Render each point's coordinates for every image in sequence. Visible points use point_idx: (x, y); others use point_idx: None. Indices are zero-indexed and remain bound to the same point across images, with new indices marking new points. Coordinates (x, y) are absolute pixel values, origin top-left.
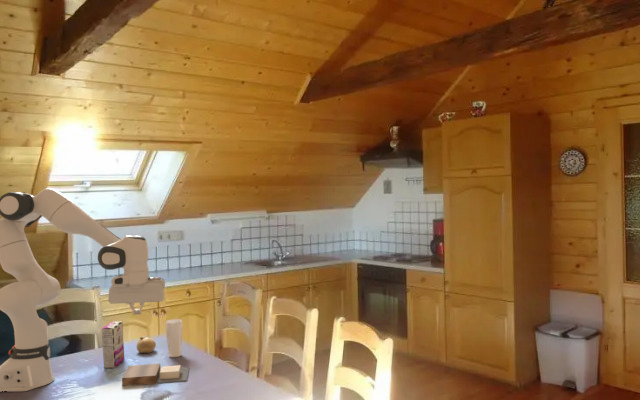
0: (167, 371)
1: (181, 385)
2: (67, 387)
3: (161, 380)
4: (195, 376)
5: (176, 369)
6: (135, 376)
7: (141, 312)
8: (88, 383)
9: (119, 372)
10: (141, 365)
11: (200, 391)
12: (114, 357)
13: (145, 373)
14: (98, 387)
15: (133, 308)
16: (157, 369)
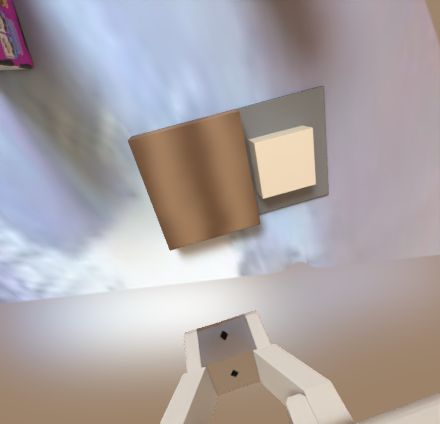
0: (283, 189)
1: (317, 221)
2: (8, 259)
3: (264, 201)
4: (345, 157)
5: (306, 170)
6: (204, 236)
7: (258, 315)
8: (51, 227)
9: (89, 123)
10: (177, 134)
11: (361, 249)
12: (9, 64)
13: (223, 211)
14: (106, 251)
15: (210, 419)
16: (249, 175)
